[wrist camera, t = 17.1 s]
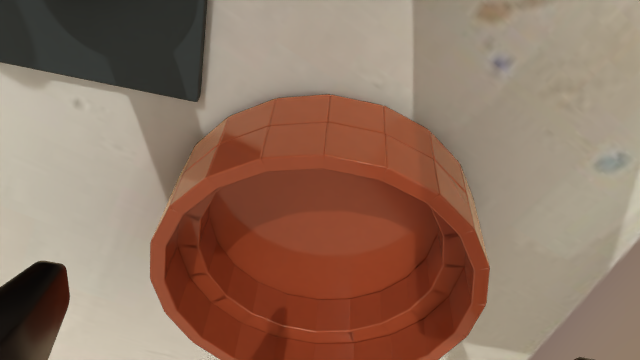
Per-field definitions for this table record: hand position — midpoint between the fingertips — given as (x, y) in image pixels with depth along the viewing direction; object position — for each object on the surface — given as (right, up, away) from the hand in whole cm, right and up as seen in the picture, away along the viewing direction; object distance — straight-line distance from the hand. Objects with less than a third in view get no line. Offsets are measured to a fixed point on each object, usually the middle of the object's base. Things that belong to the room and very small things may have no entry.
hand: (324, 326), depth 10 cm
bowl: (0, +1, +16) cm, 16 cm away
